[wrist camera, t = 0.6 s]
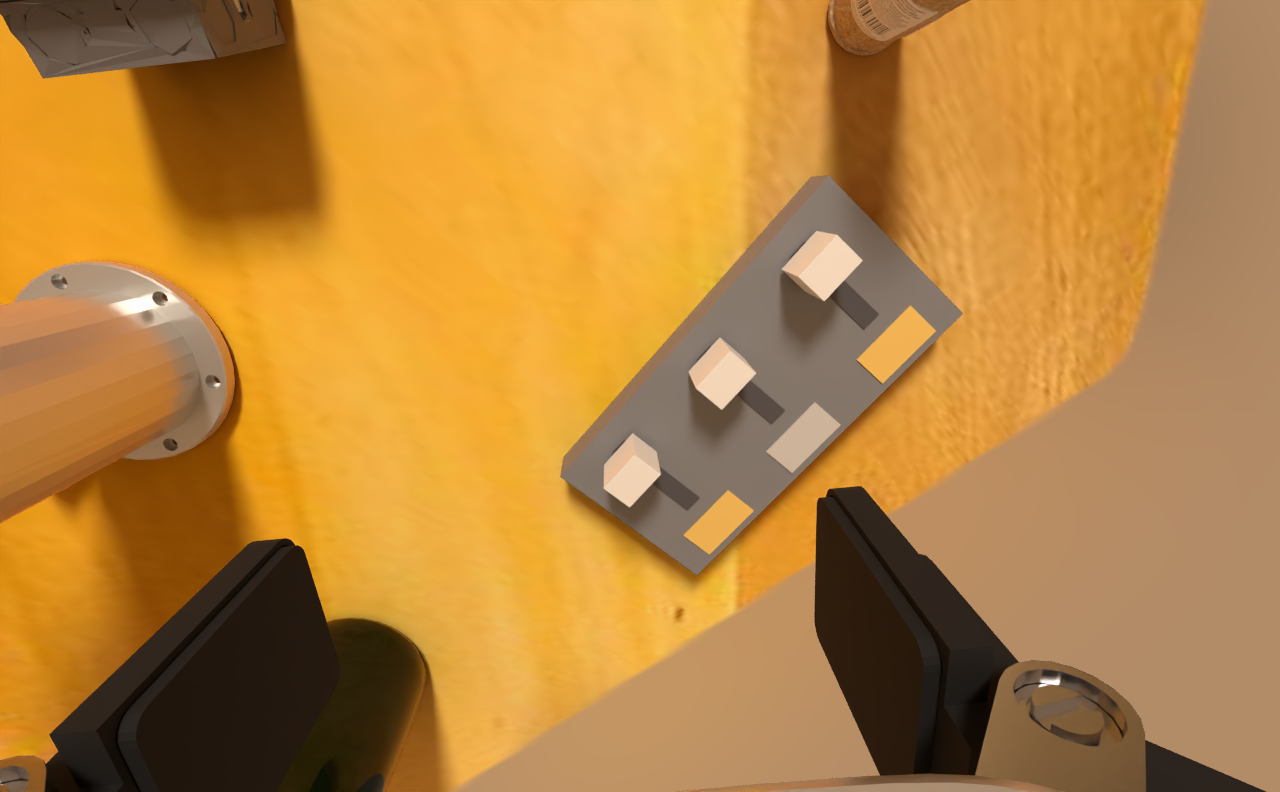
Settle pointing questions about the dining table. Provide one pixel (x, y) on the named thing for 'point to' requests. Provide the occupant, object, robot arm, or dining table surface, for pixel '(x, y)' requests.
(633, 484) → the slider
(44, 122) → the dining table surface
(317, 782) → the beer bottle
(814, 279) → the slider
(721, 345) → the slider middle
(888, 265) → the switch panel
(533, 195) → the dining table surface
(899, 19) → the sprinkles bottle
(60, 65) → the electrical switch
